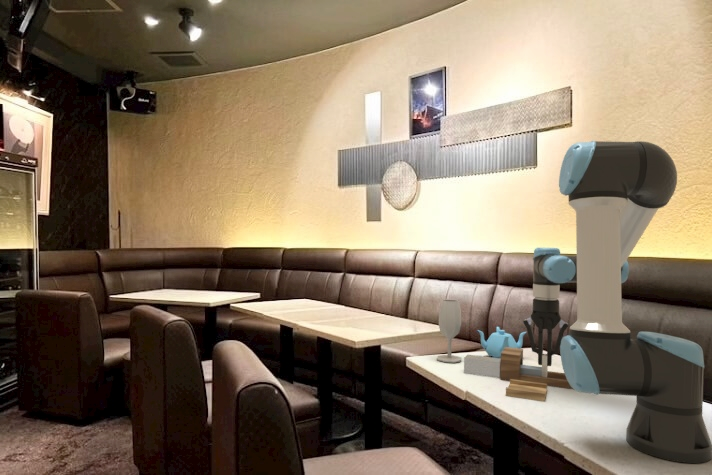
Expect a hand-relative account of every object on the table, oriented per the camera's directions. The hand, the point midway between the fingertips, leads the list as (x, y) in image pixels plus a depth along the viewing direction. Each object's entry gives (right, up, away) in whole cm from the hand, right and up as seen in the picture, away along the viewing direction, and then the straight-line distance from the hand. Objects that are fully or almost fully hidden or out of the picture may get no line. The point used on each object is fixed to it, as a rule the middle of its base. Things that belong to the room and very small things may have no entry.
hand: (544, 376), depth 149 cm
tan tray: (-10, -1, -12) cm, 16 cm away
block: (-17, -1, +7) cm, 18 cm away
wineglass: (-25, -1, +23) cm, 34 cm away
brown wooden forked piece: (0, -2, 0) cm, 2 cm away
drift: (-6, -1, +2) cm, 7 cm away
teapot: (-5, -2, +27) cm, 28 cm away
